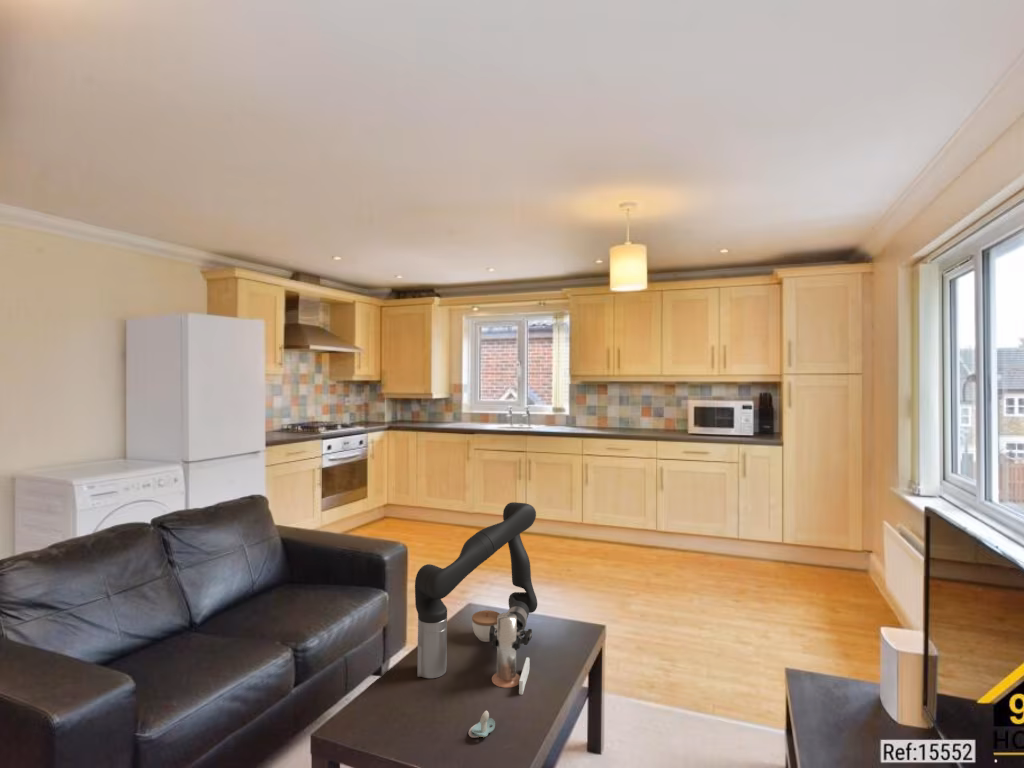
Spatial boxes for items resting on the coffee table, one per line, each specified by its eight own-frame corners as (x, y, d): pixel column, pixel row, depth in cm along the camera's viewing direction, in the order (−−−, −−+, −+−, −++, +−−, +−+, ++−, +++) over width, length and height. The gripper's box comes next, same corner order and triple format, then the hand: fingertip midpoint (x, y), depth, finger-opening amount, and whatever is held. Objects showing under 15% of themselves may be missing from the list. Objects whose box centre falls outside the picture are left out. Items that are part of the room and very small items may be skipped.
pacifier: (463, 737, 142) (482, 744, 139) (463, 713, 142) (481, 720, 139) (479, 722, 148) (498, 729, 145) (479, 699, 148) (497, 705, 145)
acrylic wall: (522, 694, 161) (522, 681, 161) (519, 694, 161) (519, 680, 161) (529, 670, 175) (529, 657, 175) (526, 669, 175) (526, 657, 175)
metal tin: (498, 680, 166) (498, 621, 165) (495, 669, 172) (496, 613, 171) (517, 678, 167) (518, 620, 166) (514, 668, 173) (514, 612, 172)
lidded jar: (475, 629, 202) (475, 604, 202) (503, 632, 201) (503, 606, 201) (468, 643, 192) (469, 617, 192) (498, 646, 190) (499, 619, 190)
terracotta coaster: (493, 688, 164) (493, 687, 164) (490, 673, 173) (490, 672, 173) (523, 686, 165) (523, 685, 165) (517, 670, 174) (517, 669, 174)
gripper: (494, 609, 184) (482, 631, 168) (536, 612, 182) (528, 636, 165) (493, 631, 184) (482, 655, 168) (535, 635, 182) (528, 660, 165)
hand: (505, 646), depth 167 cm, fingers closed on metal tin, 6 cm apart
